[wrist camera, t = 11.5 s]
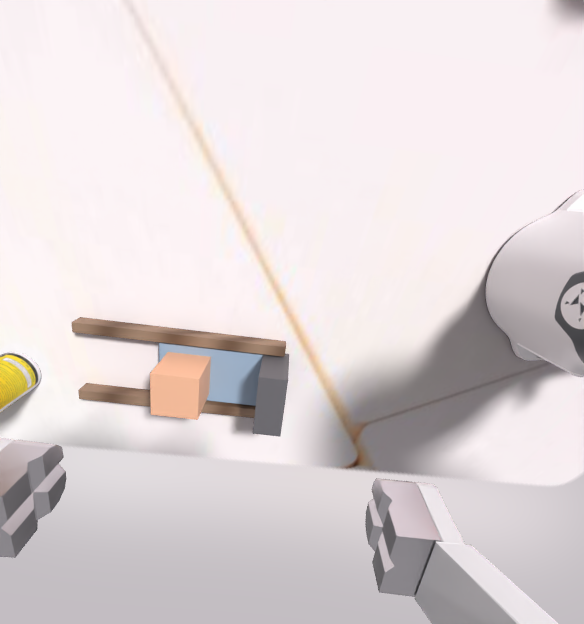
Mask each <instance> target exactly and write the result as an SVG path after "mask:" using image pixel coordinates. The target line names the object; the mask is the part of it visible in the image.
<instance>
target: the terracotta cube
mask: <svg viewBox="0 0 584 624" xmlns="http://www.w3.org/2000/svg"><path fill="white" fill-rule="evenodd" d="M210 367H211V357H209V356H200V355H191V354H183V353H174V352H167V353H166V355H165V356H164V357H163V358H162V360H161V361H160V362H159V363H158V364H157V366H156V367H155V368H154V369H153V370H152V372H151V373H150V400H151V415H159V416H168V417H177V418H187V419H196V420H198V418H199V416H200V413H201V411H202V409H203V407H204V404H205V402H206V400H207V397H208V395H209V388H210Z"/></svg>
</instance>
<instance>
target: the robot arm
mask: <svg viewBox="0 0 584 624" xmlns="http://www.w3.org/2000/svg"><path fill="white" fill-rule="evenodd" d="M486 302H487V307H488V310H489V313H490V315H491V317H492V319H493V320H494V322H495V323H496V324H497V325H498V327H499V328H501V329H502V330H503V331H504V332H505V333H506V334H507V336H508V337H509V338H510V342H511V345H512V348H513V351H514V353H515V354H516V356H518V357H519V358H521V359H523V360H526V361H534V360H546V361H548V362H550V363H552V364H554V365H555V366H557V367H559V368H561V369H563V370H565V371H566V372H568V373H570V374H572V375H574V376H577V377H584V189H583V190H581V191H578V192H577V193H575V194H574V195H573V196H572V197H570V198H569V199H568V200H567V201H566V202H565V203H564V204H563V205H562V206H561V207H560V208H559V209H558V210H556V211H555V212H553V213H551V214H549V215H547V216H545V217H543V218H540V219H538V220H536V221H534V222H532V223H531V224H529V225H527V226H526V227H524V228H523V229H521V230H520V231H519V232H518V233H516V234H515V235H514V236H513V237H512V238H511V239H510V240H509V241H508V242H507V243H506V244H505V245H504V247H503V248H502V249H501V251H500V252H499V253H498V255H497V257H496V258H495V260H494V262H493V264H492V266H491V269H490V272H489V275H488V278H487V283H486ZM62 458H63V452H62V447H61V446H58V445H54V444H47V443H39V442H32V441H24V440H13V439H6V438H0V557H14V558H15V557H16V556H17V555H18V553H19V552H20V551H21V550H22V548H23V547H24V546H25V544H26V543H27V542H28V541H29V539H30V538H31V537H32V535H33V534H34V533H35V532H36V530H37V522H38V519H40V518H42V517H43V516H45V515H46V514H48V513H50V512H51V511H52V510H53V508H54V507H55V506H56V504H57V503H58V502H59V500H60V498H61V495H62V493H63V491H64V489H65V482H66V472H65V470H64V469H63V468H62V467H61V466H60V465H59V464H58V463H59V462H60V461H61V460H62ZM372 493H373V497H374V498H373V499H372V500H371V501H370V502H368V506H367V511H366V533H367V538H368V543H369V545H370V546H371V547H372V548H373V550H374V551H375V555H374V558H373V567H374V571H375V576H376V581H377V585H378V590H379V592H382V593H390V594H398V595H405V596H413V597H415V600H416V601H417V603H418V604H419V606H420V607H421V608H422V610H423V611H424V613H425V614H426V616H427V617H428V619H429V620H430V621H431V623H432V624H558V623H557V622H556V621H555V620H554V619H553V618H551V617H550V616H549V615H548V614H547V613H546V612H545V611H544V610H543V609H541V608H540V607H539V606H538V605H537V604H536V603H535V602H534V601H533V600H532V599H530V598H529V597H528V596H527V595H526V594H525V593H524V592H523V591H522V590H520V589H519V588H518V587H517V586H516V585H515V584H514V583H513V582H512V581H510V580H509V579H508V578H507V577H506V576H505V575H504V574H503V573H502V572H501V571H499V570H498V569H497V568H496V567H495V566H494V565H493V564H492V563H491V562H489V561H488V560H487V559H486V558H485V557H484V556H483V555H482V554H481V553H480V552H478V551H477V550H476V549H475V548H474V547H473V546H472V545H467V544H465V543H464V541H463V539H462V537H461V535H460V533H459V531H458V529H457V527H456V525H455V523H454V521H453V519H452V517H451V515H450V513H449V511H448V509H447V507H446V505H445V503H444V501H443V499H442V497H441V495H440V493H439V491H438V489H437V487H436V486H435V485H434V484H430V483H419V482H408V481H398V480H387V479H376V480H375V481H374V484H373V487H372Z"/></svg>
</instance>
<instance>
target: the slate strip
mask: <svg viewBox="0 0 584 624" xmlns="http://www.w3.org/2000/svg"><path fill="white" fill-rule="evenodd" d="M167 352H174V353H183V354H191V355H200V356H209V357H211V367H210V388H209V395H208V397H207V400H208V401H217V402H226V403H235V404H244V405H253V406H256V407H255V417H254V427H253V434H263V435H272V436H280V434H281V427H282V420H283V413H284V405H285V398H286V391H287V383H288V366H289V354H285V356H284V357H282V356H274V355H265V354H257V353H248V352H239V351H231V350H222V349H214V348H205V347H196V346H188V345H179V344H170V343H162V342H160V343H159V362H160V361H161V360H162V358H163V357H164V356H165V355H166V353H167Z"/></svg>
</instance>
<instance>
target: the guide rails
mask: <svg viewBox="0 0 584 624" xmlns="http://www.w3.org/2000/svg"><path fill="white" fill-rule="evenodd" d="M72 331H73V332H76V333H84V334H93V335H102V336H110V337H119V338H127V339H136V340H145V341H153V342H162V343H170V344H179V345H188V346H196V347H205V348H214V349H222V350H231V351H239V352H248V353H257V354H265V355H274V356H282V357H284V356H285V349H286V341H278V340H269V339H261V338H252V337H244V336H235V335H227V334H218V333H210V332H201V331H193V330H184V329H176V328H167V327H159V326H150V325H142V324H133V323H125V322H116V321H108V320H99V319H91V318H82V317H80V318H78V319H77V320H75V321H73V322H72ZM79 399H86V400H96V401H105V402H114V403H123V404H132V405H141V406H150V407H151V400H150V390H144V389H135V388H126V387H117V386H108V385H99V384H90V383H86V384H85V385H84V386H83V387H82V388H80V389H79ZM255 407H256V406H253V405H244V404H235V403H226V402H217V401H208V400H206V402H205V404H204V407H203V409H202V411H201V412H204V413H214V414H223V415H232V416H241V417H250V418H254V417H255Z"/></svg>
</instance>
